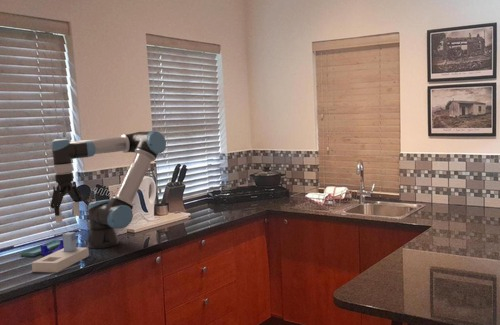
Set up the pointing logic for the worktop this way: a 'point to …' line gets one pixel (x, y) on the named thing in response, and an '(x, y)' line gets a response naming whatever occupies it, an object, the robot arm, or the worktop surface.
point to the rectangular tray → (37, 250)
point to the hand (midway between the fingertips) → (68, 219)
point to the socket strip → (59, 260)
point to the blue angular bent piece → (46, 251)
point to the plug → (69, 242)
